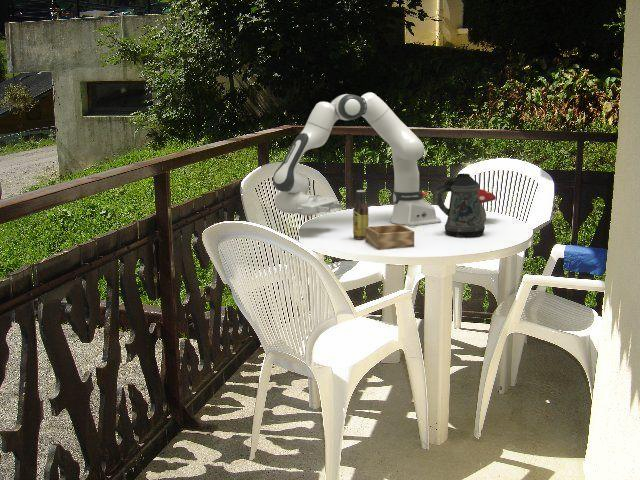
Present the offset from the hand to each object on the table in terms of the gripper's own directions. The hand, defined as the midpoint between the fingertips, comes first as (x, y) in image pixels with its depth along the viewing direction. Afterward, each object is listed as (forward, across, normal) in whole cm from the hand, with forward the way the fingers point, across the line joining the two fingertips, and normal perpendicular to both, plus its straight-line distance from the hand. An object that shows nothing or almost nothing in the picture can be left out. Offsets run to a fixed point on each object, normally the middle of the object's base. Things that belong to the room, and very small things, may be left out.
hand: (335, 208), depth 323 cm
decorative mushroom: (+40, +56, +11) cm, 69 cm away
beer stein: (+44, +28, +12) cm, 54 cm away
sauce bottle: (+12, 0, +12) cm, 17 cm away
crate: (+27, -3, +12) cm, 30 cm away
